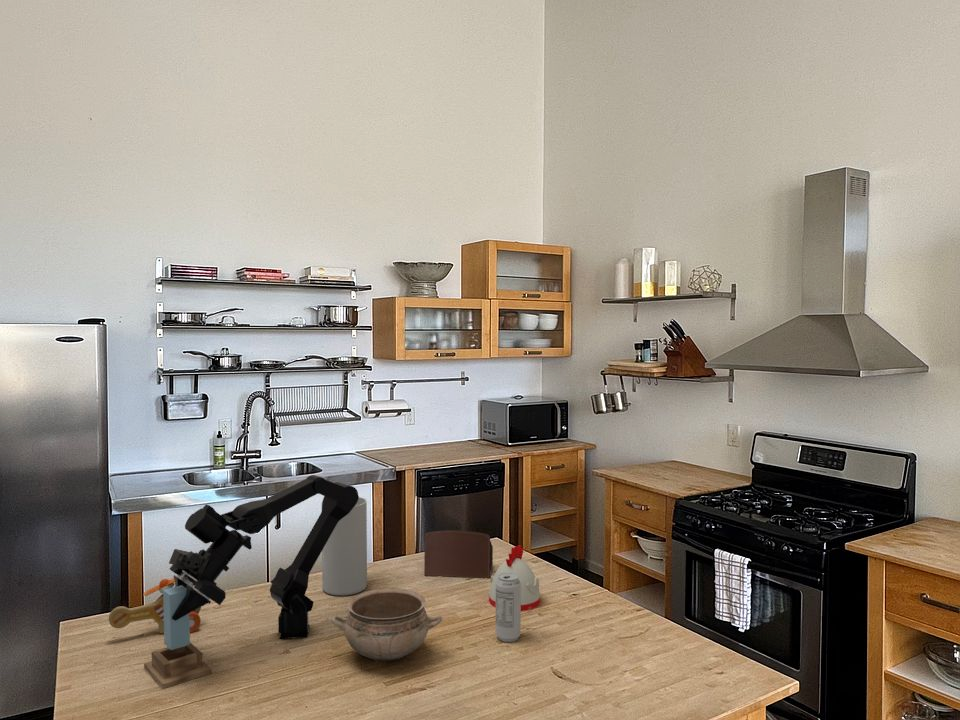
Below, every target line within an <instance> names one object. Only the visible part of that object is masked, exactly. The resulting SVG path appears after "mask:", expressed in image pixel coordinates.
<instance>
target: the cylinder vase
mask: <svg viewBox="0 0 960 720" xmlns="http://www.w3.org/2000/svg"><path fill="white" fill-rule="evenodd" d="M322 503H323V500H322V501H321V504H322ZM367 510H368V509H367V499H366V498H364V497H360V496H359V499H358V502H357V504H356V505H355V506H354V508H353V509H352V510H351V511H350V513H349V514H348V515H346V516H345V517H344V518H342V519H341V520H340V521H339V522H338V523H337V525H336V527H335V529H334V530H333V532H332V534H331V536H330V537H329V539H328V541H327V543H326V545H325V546H324V548H323V550H322V552H321V560H322V562H321V565H322V566H321V573H322V575H321V577H322V578H321V580H322V581H321V583H322V586H321V587H322V590H323V591H324V592H325V593H326V594H328V595H332V596H338V597H340V596H341V597H342V596H345V597H346V596H353V595H356V594H360V593H361V592H363V591H364V590H366V589H367V586H368V539H367V538H368V537H367V536H368V534H367V533H368V530H367V529H368V527H367V524H368V523H367V522H368V519H367V518H368V517H367V516H368V515H367Z"/></svg>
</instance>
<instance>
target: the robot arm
mask: <svg viewBox="0 0 960 720" xmlns="http://www.w3.org/2000/svg"><path fill="white" fill-rule="evenodd" d="M318 494H319V495H321V496H323V498H322V501H323V503H322V502H321V512H320V514H319V516H318V518H317V519H316V521H315V523H314V524H313V526H312V528H311V530H310V531H309V534H308V535H307V537H306V539H305V540H304V542H303V544H301V545H302V546H301V547H300V549H299V551H298V552H297V554H296V556H295V558H294V560H293V561H292V563H291V564H290V565H289V566H287V567H286V568H285V569H284V568H282V567H279V568H278V569H277V571H276V574H275V576H274V578H273V579H272V580H271V581H270V582H269V583H271V585H270V588H269V593H270V597H271V599H272V600H274V601H275V602H276V604H277V605H278V606H279V607H281V609H280V612H279V614H278V619H277V621H278V623H277V626H278V627H277V630H278V635H279V639H281V640H284V639H285V640H286V639H299V638H300V639H301V638H307V637H308V636H309V631H310V624H309V612H311V611H312V609H313V607H314V601H313V600H312V599H311V598H309V597H308V596H307V595H306V592H307V590H308V587H309V578H310V577H309V576H310V574H311V571H312V570H313V567H314V566H315V563H316V562H317V561H318V558H320V556H321V554H322V550H323V548H324V546H325V545H326V543H327V541H328V539H329V537H330V536H331V534H332V532H333V530H334V529H335V527H336V525H337V523H338V522H339V521H340V520H341V519H342V518H344V517H345V516H346V515H348V514H349V513H350V511H351V510H352V509H353V508H354V506H355V505H356V504H357V502H358V499H359V497H360V496H359V491H358V490H357V488H356V487H355V486H352V485H350V484H346V483H343V482H340V481H336V482H332V481H329V480H327V479H325V478H324V477H322V476H319V475H317V474H311V475H309V476H307V477H306V478H305V479H303V480H301V481H299V482H297V483H295V484H293V485H291V486H289V487H287V488H285V489H283V490H281V491H279V492H277V493H274V494H273V495H270V496H269V497H267V498H264V499H259V500H251V501H248V502H244V503H241V504H239V505H237V506H236V507H235V508H234V509H233V510H231V511H228V512H225V513H222V514H219V512H217V511H216V510H215V508H214V507H212V506H211V505H209V504H207V503H206V504H205V505H204V506H203V507H202V508H200V509H198V510H196V511H194V513H191V514H190V516H189V517H188V518H187V520H186V522H185V524H184V529H185V530H186V531H188V532H189V533H190V534H192V536H194V537H195V538H197V539H198V540H199V541H200V542H202V543H203V544H205V545H207V544H209V543H210V545H209V546H208V547H207V549H206V550H205V549H203V548H202V549H200V550H199V551H198V552H193V551H186V550H182V549H177V548H174V550H172V551H173V552H172V554H171V556H170V559H169V561H168V564H169V565H171V566H170V568H169V570H170V571H171V572H172V573H174V575H173V578H174V580H175V582H174V584H175V585H174V587H177V586H181V585H182V586H184V587H185V588H186V596H185V597H184V599H183V601H182V602H181V604H180V605H179V607H178V608H177V610H176V611H175V613H174V615H173V616H172V619H173V620H175V621H176V620H178V619H180V618H182V617H183V616H185V615H187V614H188V613H190V612H192V611H194V610H196V609H197V608H199V607H201V608H202V607H203V606H205V605H207V604H211V603H212V602H213V603H216V604H217V605H218V606H221V604H223V602H224V601H225V599H226V591H225V590H223V589H222V588H221V587H219V586H218V585H217V582H216V580H217V579H218V578H219V576H220V575H221V574H222V572H223V571H224V572H228V570H230V567H229V566H228V564H229V563H230V562H231V561H232V560H233V558H234V557H235V556H236V555H237V553H238V552H239V550H241V548H242V547H244V548H246V549H248V550H252V542H251V541H252V538H251V536H249V535H253V534H254V535H255V534H257V533H259V532H260V531H261V530H263V529H264V528H265V527H266V526H268V525H269V524H270V523H271V522H272V521H273V519H274V518H275V517H277V516H278V515H280V514H281V513H284V512H285V511H287V510H289V509H291V508H293V507H295V506H297V505H298V504H301V503H302V502H305V501H307V500H308V499H310V498H312V497H315V496H316V495H318ZM227 527H229V528H230V529H231V530H229V529H228V528H227ZM239 531H242V532H243V533H246V534H245V535H242V534H241V533H240V532H239ZM247 534H249V535H247ZM175 574H176V575H175ZM192 587H194V588H192Z"/></svg>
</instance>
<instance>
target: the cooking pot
mask: <svg viewBox="0 0 960 720" xmlns="http://www.w3.org/2000/svg"><path fill="white" fill-rule="evenodd" d="M425 606H426V599H425V597H424V596H423V595H422V594H420V593H418V592H416V591H413V590H410V589H409V590H408V589H405V588H404V589H403V588H379V589H372V590H369V591H365V592H362V593H361V592H360V593H358V594H357V595H354V597H352V598H351V599H350V600H349V601H348V604H347V608H348V610H349V611H348V613H347V616H346V617H342V616H339V615H334V616H333V617H332V618H331V623H332V624H333V625H335V627H337V628H338V629H340V630H342V631H344V634H345V638H346V641H347V643H348V644H349V646H350V647H351V648H352V649H353V651H354V652H357V653H358V654H359V655H361V656H364V657H366V658H368V659H371V660H374V661H376V662H379V663H391V662H395V661H398V660H399V659H401V658H403V657H406V656H408V655H410V654H412V653H414V652H415V651H416V650H418V648H420V646H421V645H422V644H423V642H425V639H426V637H427V635H428V632H429V630H431V629H433V628H435V627H437V626H438V625H440V624H441V622H442V620H443V618H442V616H440V615H438V616H433V617H431V616H428V613H427V611H426V609H425ZM338 621H339V622H338ZM340 622H341V623H340Z"/></svg>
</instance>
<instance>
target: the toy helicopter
mask: <svg viewBox="0 0 960 720" xmlns="http://www.w3.org/2000/svg"><path fill="white" fill-rule="evenodd" d="M173 587H175V580H174V577H173V578H171V579H167V578H162V579H161V580H160V582H159V584H158V585H155V586H154V587H151V588H149V589H147V590H145V592H144V593H143V594H142V595H143V596H144V597H147V596H149V595H151V594H153V593H156V592H158V591H159V593H160V594H161V595H160V596H159V597H158V598H157V599H156V600H155V601H153V602H152V603H147V604H143V605H139V606H134V607H132V608H131V607H126V606H123V605H122V606H121V605H120V606H116V607H115V608H113V609H112V610H111V611H110V613H109V615H108V622H109V625H110V626H111V627H112V628H114V629H122V628H125V627H127V626H128V625H129V624H131V623H134V622H140V621H146V620H153V621H154V622H155V623H156V624H157V625H158V627H157V628H158V632H159V633H160V634H164V605H163V590H165V589H169V588H173ZM192 588H194V586H193V587H192ZM201 609H202V606H201V607H199V608H197V609H196V610H194V611H192V612H190V613H189V624H190V634H191V633H193V632H195V631H197V630H198V629H199V627H200V626H201V620H202V619H201V617H200V615H199V613H200V611H201Z"/></svg>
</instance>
